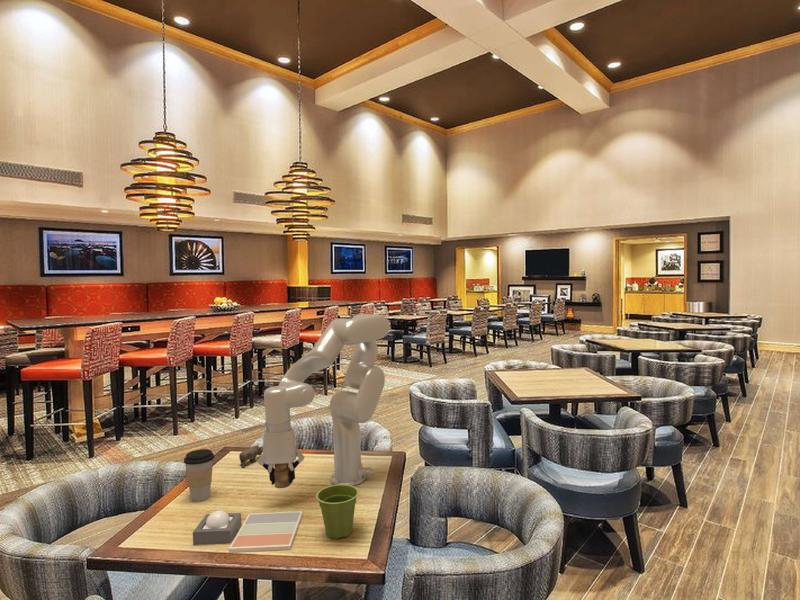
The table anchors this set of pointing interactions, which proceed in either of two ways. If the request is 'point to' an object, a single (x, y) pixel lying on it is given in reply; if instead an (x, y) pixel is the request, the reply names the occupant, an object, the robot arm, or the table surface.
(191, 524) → the table surface
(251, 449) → the rhino figurine
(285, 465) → the walnut pawn
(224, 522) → the pop dome
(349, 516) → the plant pot
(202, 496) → the coffee cup
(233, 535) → the dome base
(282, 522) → the game board
